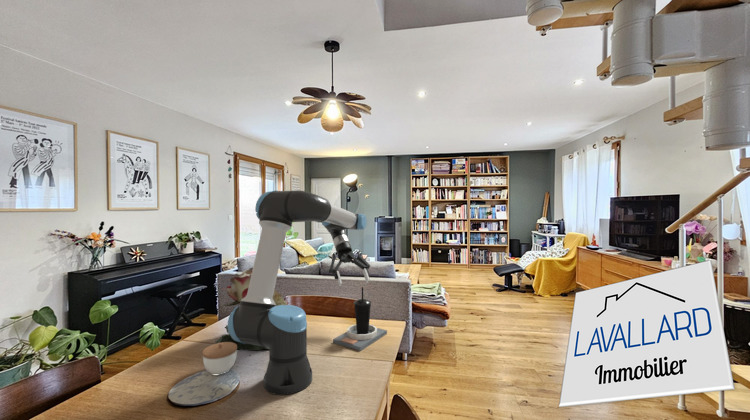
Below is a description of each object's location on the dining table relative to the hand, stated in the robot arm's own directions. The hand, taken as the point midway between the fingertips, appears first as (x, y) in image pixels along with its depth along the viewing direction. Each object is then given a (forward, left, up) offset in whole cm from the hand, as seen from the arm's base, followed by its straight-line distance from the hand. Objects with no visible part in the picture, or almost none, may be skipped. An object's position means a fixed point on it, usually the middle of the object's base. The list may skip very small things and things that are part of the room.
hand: (354, 283), depth 145 cm
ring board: (-6, -7, -21) cm, 23 cm away
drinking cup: (-4, -7, -20) cm, 22 cm away
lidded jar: (-54, +18, -22) cm, 60 cm away
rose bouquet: (-29, +31, -22) cm, 48 cm away
